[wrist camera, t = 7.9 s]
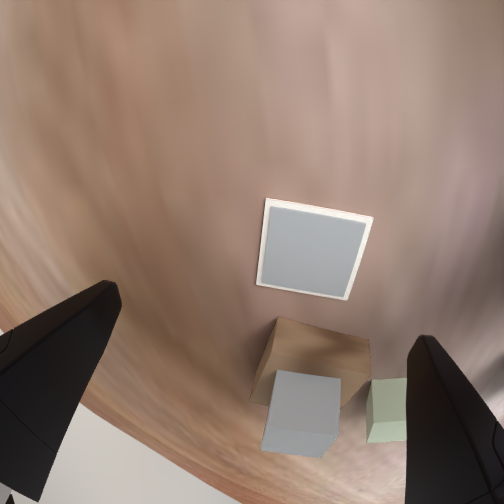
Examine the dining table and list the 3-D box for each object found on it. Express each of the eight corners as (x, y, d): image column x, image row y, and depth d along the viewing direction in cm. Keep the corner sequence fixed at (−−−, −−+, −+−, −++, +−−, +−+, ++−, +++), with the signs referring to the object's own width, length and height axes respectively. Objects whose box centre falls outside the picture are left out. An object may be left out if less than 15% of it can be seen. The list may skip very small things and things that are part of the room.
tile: (373, 216, 19) (373, 220, 18) (347, 298, 22) (347, 302, 22) (266, 197, 19) (265, 200, 19) (256, 282, 23) (255, 286, 23)
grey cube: (340, 378, 22) (338, 435, 18) (325, 408, 25) (321, 457, 21) (277, 369, 23) (266, 426, 19) (270, 400, 26) (260, 449, 21)
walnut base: (368, 336, 25) (371, 374, 21) (332, 385, 29) (330, 419, 26) (278, 313, 25) (271, 351, 22) (256, 367, 30) (249, 401, 26)
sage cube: (419, 375, 26) (425, 418, 22) (408, 400, 29) (412, 439, 25) (371, 379, 27) (373, 422, 23) (366, 403, 30) (366, 443, 26)
